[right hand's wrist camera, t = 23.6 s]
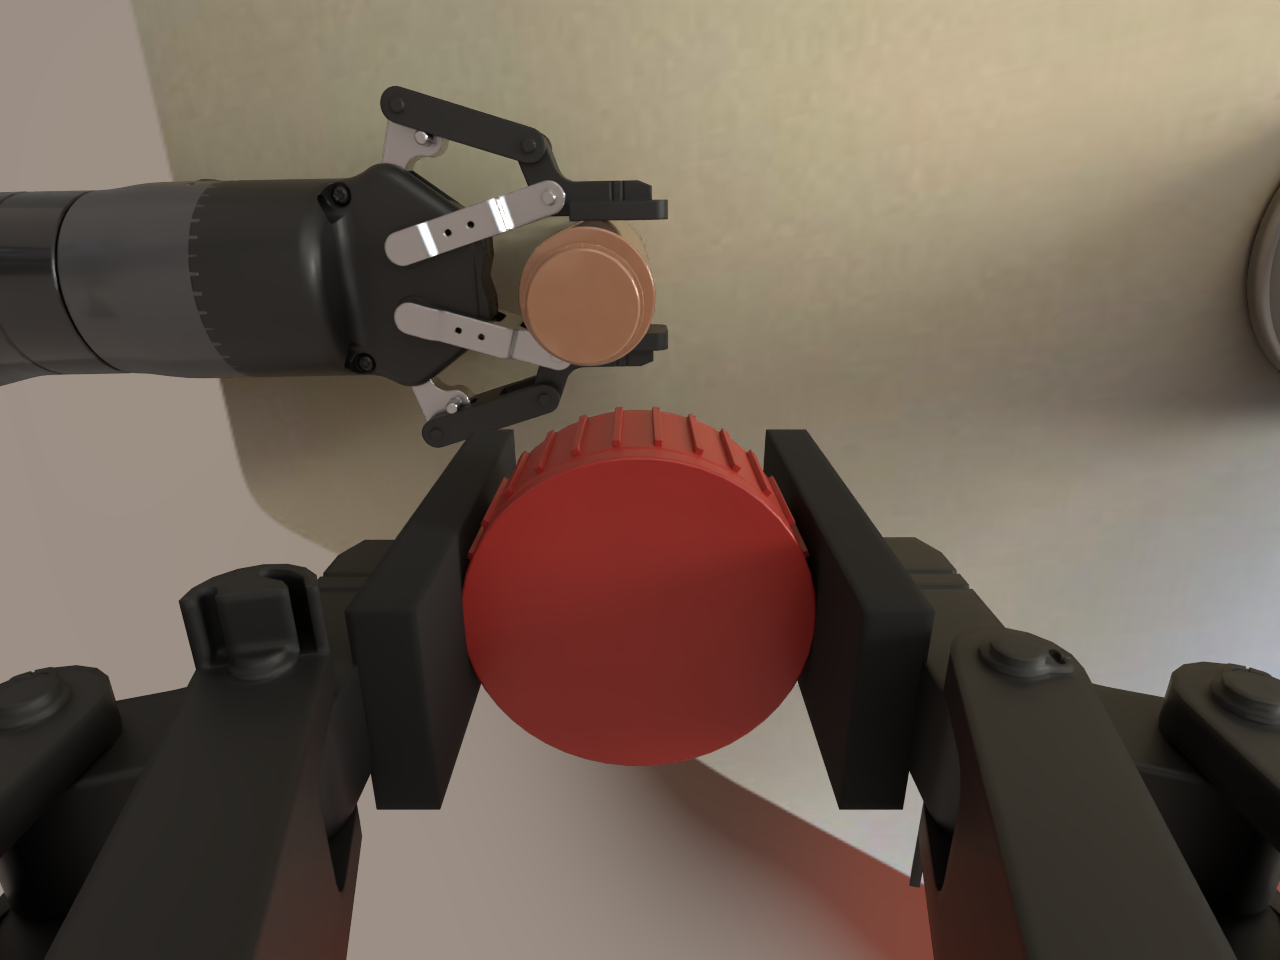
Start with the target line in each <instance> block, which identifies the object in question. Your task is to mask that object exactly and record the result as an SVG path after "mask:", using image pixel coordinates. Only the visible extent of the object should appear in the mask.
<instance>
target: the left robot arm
mask: <svg viewBox="0 0 1280 960" xmlns="http://www.w3.org/2000/svg"><path fill="white" fill-rule="evenodd" d="M380 105H381V110H382V112H383V114H384V115H385V117H386V118H387V119H388V123H387V129H386V136H385V143H384V150H383V157H382V163H380V164H376V165H373V166H371V167H370V168H368V169H367V170H366V171H364V172H363V173H361V174H359V175H357V176H355V177H351V178H344V179H292V180H240V181H219V180H213V179H202V180H198V181H192V182H159V183H146V184H139V185H133V186H128V187H123V188H117V189H110V190H97V191H45V192H1V193H0V386H2V385H6V384H10V383H14V382H17V381H21V380H25V379H28V378H33V377H37V376H43V375H61V374H109V373H148V374H157V375H165V376H174V377H185V378H233V377H286V376H338V375H378V376H383V377H386V378H388V379H391V380H393V381H395V382H397V383H399V384H401V385H404V386H411V387H412V390H413V392H414V394H415V396H416V399H417V401H418V403H419V405H420V408H421V410H422V412H423V414H424V417H425V419H426V421H427V423H426V424H425V425H424V427H423V429H422V436H423V439H424V440H425V442H426V443H427V444H429V445H430V446H432V447H436V448H440V447H444V446H447V445H450V444H453V443H456V442H460V441H463V440H466V439H467V438H468V437H469V435H470V434H471V432H472V431H473V430H497V429H500V428H503V427H507V426H510V425H513V424H516V423H519V422H522V421H525V420H529V419H532V418H535V417H538V416H541V415H544V414H547V413H550V412H552V411H554V410H555V409H556V408H557V406H558V404H559V401H560V399H561V396H562V393H563V390H564V387H565V384H566V380H567V377H568V375H569V374H570V373H571V372H572V371H573V370H575V369H577V368H580V367H612V366H642V365H645V364H647V363H649V362H652V361H653V351H657V350H665V349H667V348H668V330H667V326H666V325H660V324H650V326H649V328H648V330H647V332H646V334H645V335H644V337H643V338H642V340H641V341H640V342H639V343H638V345H637V346H636V347H635V348H634V349H632V350H631V351H630V352H629V353H628V354H626V355H625V356H623V357H622V358H619V359H617V360H615V361H613V362H610V363H607V364H603V365H598V366H580V365H575V364H570V363H567V362H564V361H562V360H560V359H558V358H556V357H554V356H552V355H551V354H549V353H548V352H547V351H545V350H544V349H543V348H542V347H541V346H540V345H539V344H538V343H537V342H536V341H535V340H534V338H533V337H532V335H531V334H530V333H529V331H528V329H527V327H526V325H525V323H524V320H523V318H522V316H521V315H518V314H515V313H511V312H508V311H504V310H500V309H498V298H497V293H496V290H495V287H494V284H493V281H492V278H491V268H492V263H493V257H494V251H493V240H492V236H495V235H498V234H501V233H504V232H507V231H510V230H513V229H515V228H518V227H521V226H524V225H527V224H530V223H532V222H535V221H538V220H541V219H544V218H547V217H550V216H569V219H570V221H592V220H597V221H611V220H659V219H668V200H652V186H651V185H648V184H646V183H643V182H641V181H638V180H634V181H585V182H573V181H570V180H568V179H567V178H566V177H564V176H563V175H562V173H561V172H560V170H559V168H558V165H557V163H556V160H555V157H554V155H553V152H552V145H551V142H550V141H549V139H548V138H547V137H546V136H545V135H543V134H542V133H540V132H539V131H538V130H536V129H534V128H531V127H528V126H525V125H522V124H518V123H515V122H512V121H509V120H506V119H502V118H499V117H496V116H493V115H489V114H486V113H483V112H480V111H477V110H473V109H470V108H467V107H464V106H460V105H457V104H454V103H451V102H448V101H444V100H441V99H438V98H435V97H431V96H428V95H425V94H422V93H419V92H415V91H412V90H409V89H406V88H402V87H399V86H392V87H389V88H387V89H386V90H385V91H384V92H383V94H382V96H381V100H380ZM449 140H452V141H455V142H458V143H461V144H465V145H468V146H471V147H475V148H478V149H481V150H484V151H488V152H491V153H494V154H498V155H501V156H504V157H507V158H511V159H514V160H517V161H518V162H519V165H520V167H521V170H522V172H523V175H524V177H525V179H526V182H527V184H528V187H525V188H522V189H519V190H517V191H514V192H511V193H508V194H505V195H502V196H499V197H496V198H492V199H489V200H486V201H483V202H480V203H478V204H475V205H472V206H469V207H466V208H465V207H464V206H462V205H461V204H459V203H458V202H457V201H455V200H454V199H452V198H451V197H450V196H448V195H447V194H445V193H444V192H442V191H441V190H440V189H438V188H437V187H435V186H434V185H432V184H431V183H430V182H428V181H427V180H425V179H424V178H422V177H421V176H420V175H418V174H417V173H415V172H414V171H412V170H413V166H414V164H415V163H416V162H417V160H419V159H420V158H423V157H433V158H435V157H439V156H441V155H443V154H444V153H445V151H446V149H447V147H448V142H449ZM483 337H485V338H483ZM469 349H470V350H473V351H477V352H481V353H484V354H488V355H492V356H495V357H499V358H504V359H518V360H521V361H525V362H529V363H532V364H536V365H539V369H538V372H537V375H536V376H533V377H530V378H526V379H523V380H520V381H517V382H514V383H511V384H508V385H505V386H502V387H499V388H496V389H493V390H490V391H487V392H483V393H480V394H477V395H473V393H472V391H471V390H470V389H469V388H468V387H466V386H464V385H453V386H450V385H446V384H444V383H443V382H441V381H440V380H439V378H438V377H437V375H438V374H439V373H440V372H442V371H443V370H444V369H445V368H447V367H448V366H449V365H450V364H452V363H453V362H454V361H455V360H457V359H458V358H459V357H460V356H462V355H463V354H464V353H465V352H467V351H468V350H469Z"/></svg>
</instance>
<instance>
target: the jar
mask: <svg viewBox="0 0 1280 960" xmlns="http://www.w3.org/2000/svg"><path fill="white" fill-rule="evenodd" d="M655 299H656V298H655V287H654V281H653V277H652V273H651V269H650V264H649V260H648V256H647V252H646V248H645V245H644V243H643V241H642V239H641V237H640V236H639V234H638V233H637V232H636V230H635V229H634V228H633V227H632V226H631V225H629V224H628V223H626V222H625V221H623V220H611V221H597V220H592V221H580V222H578V223H576V224H574V225H572V226H570V227H568V228H566V229H564V230H562V231H560V232H558V233H556V234H554V235H552V236H550V237H549V238H547V239H546V240H545V241H543V242H542V243H541V244H540V245H539V246H538V247H537V248H536V249H535V250H534V252H533V253H532V254H531V256H530V257H529V259H528V261H527V262H526V264H525V267H524V269H523V272H522V275H521V279H520V284H519V305H520V310H521V314H522V318H523V320H524V323H525V325H526V327H527V329H528V331H529V333H530V334H531V335H532V337H533V338H534V340H535V341H536V342H537V343H538V344H539V345H540V346H541V347H542V348H543V349H544V350H545V351H547V352H548V353H549V354H551V355H552V356H554V357H556V358H558V359H560V360H562V361H564V362H567V363H570V364H575V365H580V366H598V365H603V364H607V363H610V362H613V361H615V360H617V359H619V358H622V357H623V356H625V355H626V354H628V353H629V352H630V351H631V350H632V349H634V348H635V347H636V346H637V345H638V343H639V342H640V341H641V340H642V338H643V337H644V335H645V334H646V332H647V330H648V328H649V326H650V324H651V321H652V318H653V314H654V310H655Z"/></svg>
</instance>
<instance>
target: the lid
mask: <svg viewBox="0 0 1280 960" xmlns="http://www.w3.org/2000/svg"><path fill="white" fill-rule="evenodd" d="M480 525H481V527H480V529H479V531H478V533H477V535H476V537H475V539H474V541H473V543H472V545H471V548H470V550H469V552H468V559H470V563H469V565H468V568H467V570H466V574H465V578H464V583H463V588H462V602H463V614H464V624H465V634H466V644H467V653H468V656H469V659H470V661H471V664H472V666H473V668H474V671H475V673H476V675H477V677H478V678H479V680H480V682H481V683H482V685H483V687H484V689H485V690H486V691H487V693H488V694H489V695H490V697H491V698H492V699H493V700H494V702H495V703H496V704H497V706H498V707H499V708H500V709H501V710H502V711H503V712H504V713H505V714H506V715H507V716H508V717H509V718H511V720H513V721H514V722H515V723H516V724H518V725H519V726H520V727H522V728H523V729H524V730H525V731H527V732H528V733H530V734H531V735H533V736H535V737H536V738H538V739H539V740H541V741H543V742H544V743H546V744H548V745H550V746H553V747H555V748H557V749H559V750H561V751H564V752H566V753H569V754H572V755H575V756H578V757H581V758H584V759H588V760H593V761H597V762H602V763H607V764H616V765H626V766H651V765H661V764H670V763H675V762H680V761H684V760H689V759H693V758H696V757H699V756H702V755H705V754H708V753H711V752H713V751H716V750H718V749H720V748H722V747H724V746H727V745H729V744H731V743H732V742H734V741H736V740H738V739H739V738H741V737H743V736H744V735H746V734H748V733H749V732H750V731H752V730H753V729H754V728H755V727H757V726H758V725H759V724H761V723H762V722H763V721H764V720H765V719H767V718H768V717H769V716H770V715H771V714H772V713H773V712H774V711H775V710H776V709H777V708H778V707H779V705H780V704H781V703H782V702H783V700H784V699H785V698H786V697H787V695H788V694H789V693H790V691H791V690H792V688H793V687H794V685H795V683H796V682H797V680H798V678H799V676H800V675H801V673H802V671H803V668H804V666H805V663H806V661H807V659H808V656H809V654H810V650H811V646H812V642H813V637H814V627H815V617H816V595H815V589H814V584H813V579H812V574H811V571H810V569H809V566H808V563H807V560H806V558H807V557H810V555H809V552H808V549H807V547H806V545H805V543H804V541H803V539H802V537H801V535H800V532H799V530H798V528H797V526H796V524H795V521H794V518H793V516H792V514H791V512H790V510H789V508H788V506H787V504H786V502H785V500H784V498H783V495H782V493H781V491H780V489H779V487H778V485H777V483H776V481H775V479H774V478H773V476H771V477H769V478H768V477H767V476H766V475H765V473H764V472H763V471H762V468H761V466H760V464H759V462H758V460H757V457H756V455H755V453H754V452H753V451H752V450H749V451H748V452H746V451H745V450H744V449H743V448H742V447H740V446H739V445H738V444H736V443H735V442H734V441H732V440H731V439H730V436H729V434H728V432H727V431H726V430H724V429H721V431H720V432H719V431H717V430H715V429H713V428H712V427H710V426H708V425H705V424H703V423H700V422H698V421H697V420H696V416H694V415H691V414H689V415H688V418H687V417H683V416H679V415H676V414H672V413H666V412H660V408H659V407H653V408H652V411H651V410H627V411H623V407H617V408H615V412H611V413H606V414H602V415H598V416H594V417H590V418H588V417H587V415H583V416H580V418H579V422H577V423H574V424H572V425H569V426H567V427H566V428H564V429H562V430H560V431H559V432H557V433H556V432H555V431H554V430H551V431H550V432H548V434H547V436H546V439H545V441H543V442H542V443H541V444H539V445H538V446H537V447H536V448H535V449H534V450H533V451H532V452H531V453H530V454H529V453H527V452H526V451H524V452H523V453H522V455H521V456H520V458H519V461H518V463H517V465H516V467H515V469H514V471H513V474H512V475H511V476H510V478H509V479H507V478H505V477H504V478H503V480H502V481H501V483H500V485H499V487H498V489H497V491H496V493H495V495H494V497H493V500H492V502H491V504H490V506H489V508H488V510H487V512H486V514H485V516H484V518H483V520H482V522H481V524H480Z"/></svg>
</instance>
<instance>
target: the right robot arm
mask: <svg viewBox="0 0 1280 960" xmlns="http://www.w3.org/2000/svg"><path fill="white" fill-rule="evenodd" d="M1247 302H1248V310H1249V316H1250V320H1251V324H1252V328H1253V331H1254V333H1255V336H1256V339H1257V341H1258V343H1259V345H1260V346H1261V348H1262V350H1263V352H1264V353H1265V355H1266V356H1267V357H1268V359H1269V360H1270V362H1271V363H1272V364H1273V365H1274V366H1275V367H1276V368H1277V369H1278V370H1279V371H1280V186H1279V188H1278V190H1277V191H1276V193H1275V195H1274V197H1273V199H1272V200H1271V202H1270V204H1269V206H1268V208H1267V210H1266V213H1265V215H1264V217H1263V219H1262V221H1261V224H1260V227H1259V229H1258V232H1257V235H1256V238H1255V241H1254V245H1253V249H1252V252H1251V257H1250V263H1249V269H1248V279H1247ZM515 467H516V460H515V445H514V430H473V431H472V432H471V434H470V435H469V437H468V438H467V439H466V441H465V442H464V444H463V445H462V446H461V448H460V449H459V451H458V452H457V453H456V455H455V456H454V458H453V459H452V460H451V462H450V463H449V465H448V466H447V467H446V469H445V470H444V472H443V473H442V474H441V476H440V477H439V479H438V480H437V481H436V483H435V484H434V486H433V487H432V488H431V490H430V491H429V493H428V494H427V495H426V497H425V498H424V500H423V501H422V502H421V504H420V505H419V507H418V508H417V509H416V511H415V512H414V514H413V515H412V516H411V518H410V519H409V521H408V522H407V523H406V525H405V526H404V528H403V529H402V530H401V532H400V533H399V535H398V536H397V537H396V539H395V540H364V541H362V542H360V543H359V544H357V545H355V546H353V547H352V548H350V549H348V550H346V551H345V552H343V553H341V554H340V555H338V556H337V557H336V559H335V560H334V561H333V562H332V563H331V565H330V566H329V567H328V568H327V569H326V571H325V572H324V573H323V577H320V578H319V579H318V580H317V575H316V574H314V573H313V572H311V571H310V570H308V569H307V568H305V567H300V566H295V565H290V564H263V565H258V566H252V567H246V568H241V569H236V570H233V571H230V572H227V573H224V574H221V575H218V576H215V577H212V578H210V579H209V580H207V581H205V582H203V583H201V584H199V585H197V586H195V587H194V588H192V589H191V590H190V591H189V592H188V593H187V594H185V595H184V596H183V597H182V598H181V599H180V600H179V604H180V608H181V612H182V616H183V620H184V624H185V628H186V632H187V636H188V640H189V644H190V647H191V651H192V655H193V659H194V663H195V667H196V671H195V673H194V675H193V676H192V678H191V680H190V682H189V684H188V686H187V687H185V688H181V689H177V690H172V691H167V692H161V693H156V694H151V695H145V696H140V697H135V698H129V699H124V700H119V701H116V700H115V697H114V694H113V690H112V687H111V684H110V680H109V677H108V676H107V675H106V674H104V673H103V672H102V671H100V670H99V669H98V668H93V667H85V666H78V665H75V666H65V667H55V668H53V667H48V668H43V669H38V670H35V672H33V673H32V672H31V671H30V672H27V673H23V674H20V675H17V676H14V677H12V678H11V679H10V680H9V681H6V682H4V683H1V684H0V883H1V886H2V888H3V891H4V893H3V894H2V895H1V896H0V960H346V957H347V949H348V941H349V933H350V926H351V918H352V910H353V903H354V894H355V887H356V879H357V871H358V864H359V856H360V848H361V840H362V833H361V826H360V820H359V814H358V808H357V802H358V799H359V797H360V795H361V793H362V791H363V789H364V787H365V784H366V782H367V780H368V778H369V776H370V774H371V777H372V783H373V790H374V796H375V802H376V808H377V809H378V810H395V809H396V810H400V809H401V810H405V809H406V810H409V809H410V810H411V809H412V810H414V809H415V810H418V809H419V810H422V809H423V810H426V809H428V810H431V809H432V810H433V809H436V810H437V809H440V808H441V805H442V802H443V799H444V796H445V793H446V790H447V787H448V784H449V781H450V778H451V775H452V771H453V768H454V765H455V762H456V759H457V756H458V753H459V750H460V747H461V744H462V741H463V738H464V735H465V732H466V728H467V725H468V722H469V719H470V716H471V713H472V710H473V707H474V704H475V701H476V698H477V695H478V692H479V689H480V685H481V682H480V680H479V678H478V677H477V675H476V673H475V671H474V668H473V666H472V664H471V661H470V659H469V656H468V653H467V644H466V634H465V624H464V614H463V602H462V588H463V583H464V578H465V574H466V570H467V568H468V565H469V563H470V559H468V552H469V550H470V548H471V545H472V543H473V541H474V539H475V537H476V535H477V533H478V531H479V529H480V527H481V525H480V524H481V522H482V520H483V518H484V516H485V514H486V512H487V510H488V508H489V506H490V504H491V502H492V500H493V497H494V495H495V493H496V491H497V489H498V487H499V485H500V483H501V481H502V480H503V478H504V477H505V478H507V479H509V478H510V476H511V475H512V474H513V471H514V469H515ZM763 472H764V473H765V475H766V476H767V477H768V478H769V477H771V476H773V478H774V479H775V481H776V483H777V485H778V487H779V489H780V491H781V493H782V495H783V498H784V500H785V502H786V504H787V506H788V508H789V510H790V512H791V514H792V516H793V518H794V521H795V524H796V526H797V528H798V530H799V532H800V535H801V537H802V539H803V541H804V543H805V545H806V547H807V549H808V552H809V555H810V557H807V558H806V560H807V563H808V566H809V569H810V571H811V574H812V579H813V584H814V589H815V595H816V617H815V627H814V637H813V642H812V646H811V650H810V654H809V656H808V659H807V661H806V663H805V666H804V668H803V671H802V673H801V675H800V676H799V678H798V680H797V681H798V684H799V687H800V690H801V693H802V696H803V699H804V702H805V705H806V708H807V712H808V715H809V718H810V721H811V724H812V727H813V730H814V733H815V736H816V739H817V742H818V745H819V748H820V751H821V755H822V758H823V761H824V764H825V767H826V770H827V773H828V776H829V779H830V782H831V785H832V788H833V791H834V795H835V798H836V801H837V804H838V807H839V810H903V805H904V799H905V793H906V787H907V781H908V775H909V771H910V773H911V775H912V777H913V780H914V782H915V784H916V786H917V788H918V790H919V792H920V794H921V797H922V799H923V801H924V802H923V808H922V814H921V819H920V825H919V831H918V837H917V842H916V848H915V854H914V859H913V865H912V871H911V878H910V884H909V885H910V886H914V887H920V882H921V877H922V872H923V878H924V885H925V893H926V901H927V909H928V916H929V924H930V932H931V939H932V947H933V955H934V960H1280V892H1279V891H1278V890H1277V887H1278V884H1279V882H1280V680H1279V679H1276V678H1274V677H1272V676H1271V675H1269V674H1268V673H1266V672H1263V671H1260V670H1256V669H1253V668H1250V667H1249V669H1246V667H1245V666H1241V665H1236V664H1221V663H1212V662H1198V663H1191V664H1183V665H1182V666H1181V667H1179V668H1178V669H1177V670H1175V671H1174V672H1172V675H1171V678H1170V682H1169V685H1168V688H1167V692H1166V695H1165V698H1164V697H1158V696H1153V695H1148V694H1142V693H1137V692H1131V691H1126V690H1121V689H1115V688H1110V687H1105V686H1101V685H1097V684H1093V683H1091V681H1090V679H1089V677H1088V675H1087V673H1086V671H1085V669H1084V668H1083V667H1082V666H1081V665H1080V663H1079V662H1078V661H1077V660H1076V659H1075V658H1074V656H1073V655H1072V654H1070V653H1069V652H1067V651H1065V650H1064V649H1062V648H1061V647H1059V646H1058V645H1056V644H1055V643H1053V642H1051V641H1048V640H1046V639H1043V638H1041V637H1038V636H1036V635H1033V634H1030V633H1028V632H1023V631H1018V630H1013V629H1008V628H1005V627H1004V626H1003V625H1002V623H1001V622H1000V621H999V620H998V619H997V617H996V616H995V615H994V614H993V613H992V612H991V610H990V609H989V608H988V607H987V606H986V604H985V603H984V602H983V601H982V600H981V599H980V597H979V596H978V595H977V594H976V593H975V591H974V590H973V589H969V584H968V583H967V582H966V581H965V580H964V579H963V577H962V576H961V575H960V574H957V570H956V569H955V568H954V567H953V566H952V564H951V563H950V562H949V561H948V560H947V558H946V557H945V556H944V555H943V554H942V553H941V552H940V551H938V550H936V549H934V548H933V547H931V546H929V545H927V544H926V543H924V542H922V541H920V540H919V539H917V538H915V537H882V535H881V534H880V533H879V531H878V530H877V528H876V527H875V526H874V524H873V523H872V521H871V520H870V519H869V517H868V516H867V514H866V513H865V512H864V510H863V509H862V507H861V506H860V505H859V503H858V502H857V500H856V499H855V498H854V496H853V495H852V493H851V492H850V491H849V489H848V488H847V486H846V485H845V484H844V482H843V481H842V479H841V478H840V476H839V475H838V474H837V472H836V471H835V469H834V468H833V467H832V465H831V464H830V462H829V461H828V460H827V458H826V457H825V455H824V454H823V453H822V451H821V450H820V448H819V447H818V446H817V444H816V443H815V441H814V440H813V439H812V437H811V436H810V434H809V433H808V432H807V430H766V437H765V453H764V469H763Z"/></svg>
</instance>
